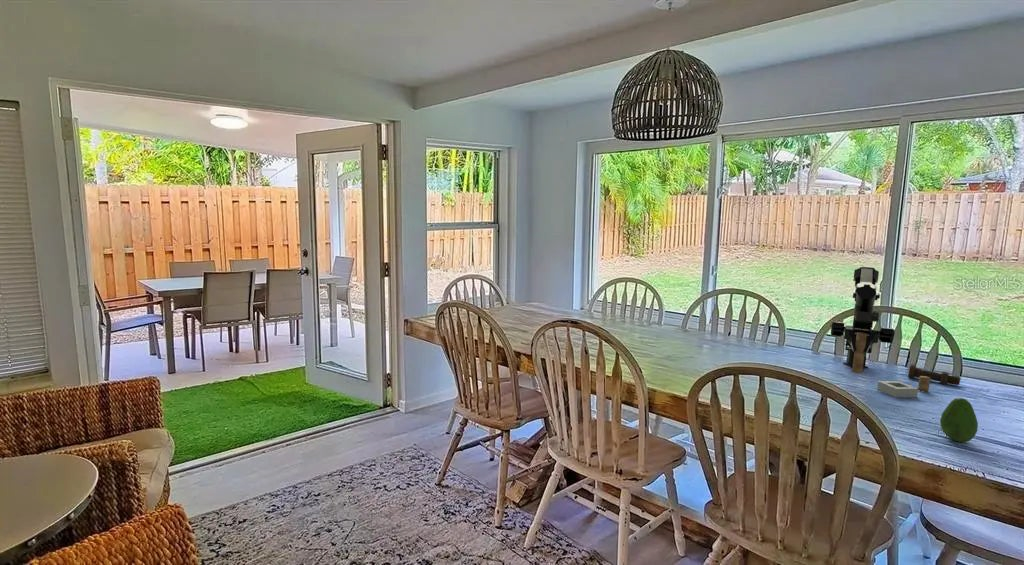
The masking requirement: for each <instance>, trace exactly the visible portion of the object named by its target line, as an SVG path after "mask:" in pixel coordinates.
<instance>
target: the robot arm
mask: <svg viewBox="0 0 1024 565" xmlns="http://www.w3.org/2000/svg"><path fill="white" fill-rule="evenodd" d="M879 275H880V271H878V270H877V269H876V268H875V267H874V266H865V265H861V266H859V267H858V268H856V269H854V272H853V282H854V287H855V288H854V289H853V292H852V293H853V295H852V299H854V302H855V304H854V311H853V319H852V325H845V322H843V321H833V322H831V326H830V327H831V328H830V336H832V337H842V336H843V339H844V340H845V347H844V350H845V351H847V354H846V361H843V362H842V364H844V365H847V366H849V367H851V368H853V360H854V352H855V344H856V336H857V332H862V333H866V334H867V338H866V346H865V354H864V362H863V369H864V368H869V365H867V364H866V362H867V354H871V353H872V350H873V346H874V344H878V342H881V343H885V344H893V342H894V337H895V329H894V328H891V327H885V326H881V327H880V330H877V329H872V328H873V325H874V322H876V323H878V322H879V319H880V318H879V317H880V312H879V311H874V306H875V302H877V301H878V300H879V299H880V298H881V295H880V293H879V291H878V290H877V286H876V284H877V283H879V282H878V281H879Z"/></svg>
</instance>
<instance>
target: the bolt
mask: <svg viewBox="0 0 1024 565" xmlns="http://www.w3.org/2000/svg"><path fill="white" fill-rule="evenodd" d="M916 365H917V364H910V365H909V369H908V374H907V378H908V377H910V378H909V379H911V378H913V377H915V378H917V379H918V378H920V376H926V377H930V380H931V381H935V382H939V384H940V383H942V384H941V385H944V384H946V385H947V384H950V385H955V386H959V385H960V382H961V377H959V376H956V375H955V376H954V375H950V373H949V372H947V371H942V372H941V373H940V372H935V371H931V370H926V369H923V368H918V367H917V366H916ZM913 379H914V378H913Z"/></svg>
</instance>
